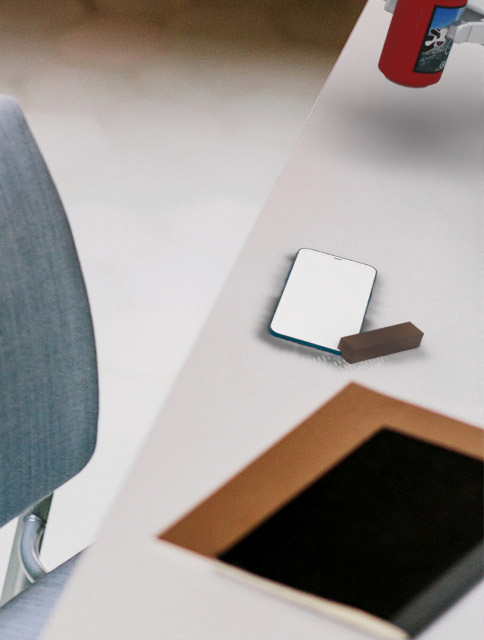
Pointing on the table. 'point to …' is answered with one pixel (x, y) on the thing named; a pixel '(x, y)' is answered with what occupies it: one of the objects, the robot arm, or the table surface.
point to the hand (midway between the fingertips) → (421, 19)
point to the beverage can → (419, 41)
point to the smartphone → (323, 300)
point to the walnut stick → (380, 342)
